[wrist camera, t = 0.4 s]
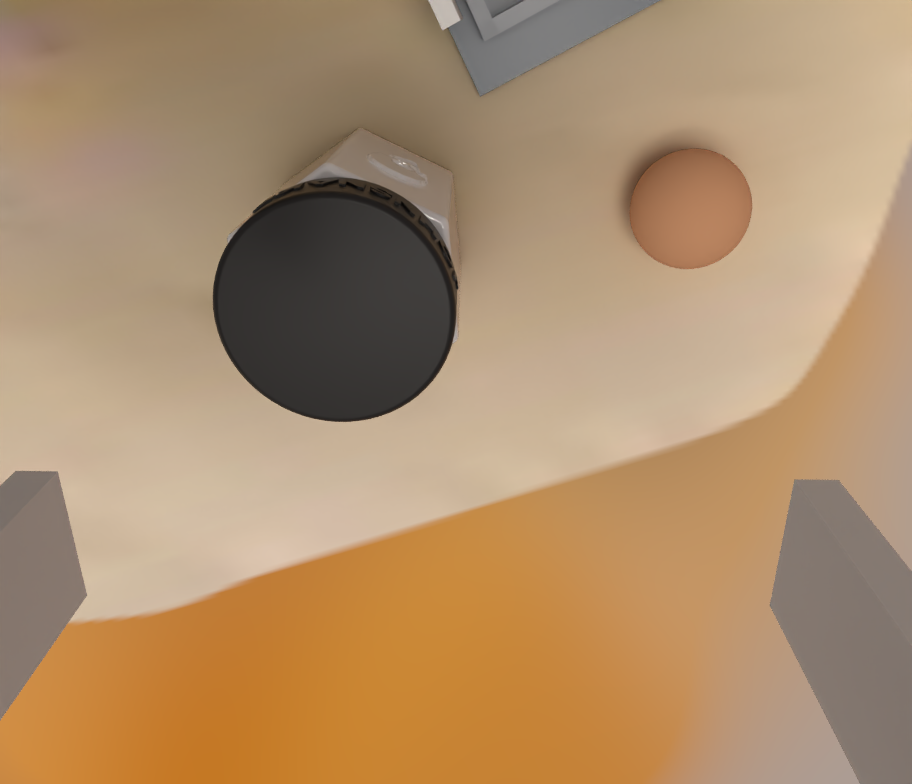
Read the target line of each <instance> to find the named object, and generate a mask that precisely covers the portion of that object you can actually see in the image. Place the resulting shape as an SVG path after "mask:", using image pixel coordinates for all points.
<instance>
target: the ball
mask: <svg viewBox="0 0 912 784" xmlns="http://www.w3.org/2000/svg"><path fill="white" fill-rule="evenodd" d="M751 212H752V198H751V192H750V188H749V186H748V183H747V181H746V179H745V177H744V175H743V174H742V172H741V171H740V170H739V168H738V167H737V166H736V165H735V164H734V163H732V162H731V161H730V160H729V159H727V158H726V157H724V156H723V155H720V154H718V153H716V152H713V151H709V150H705V149H685V150H680V151H676V152H673V153H671V154H668V155H666V156H664V157H662V158H661V159H659V160H658V161H656V162H655V163H654V164H652V165H651V166H650V167H649V168H648V169H647V170H646V171H645V173H644V174H643V175H642V176H641V178H640V180H639V181H638V183H637V185H636V187H635V189H634V192H633V195H632V199H631V204H630V221H631V227H632V230H633V233H634V235H635V237H636V239H637V241H638V243H639V244H640V246H641V247H642V248H643V250H644V251H645V252H646V253H647V254H648V255H650V256H651V257H652V258H653V259H655V260H657V261H658V262H660V263H662V264H665V265H667V266H670V267H674V268H680V269H694V268H700V267H704V266H708V265H710V264H713V263H715V262H717V261H719V260H721V259H722V258H724V257H725V256H726V255H728V254H729V253H730V252H731V251H732V250H733V249H734V248H735V247H736V246H737V245H738V244H739V242H740V241H741V239H742V238H743V236H744V234H745V233H746V230H747V228H748V225H749V222H750V218H751Z"/></svg>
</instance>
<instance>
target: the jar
mask: <svg viewBox="0 0 912 784" xmlns="http://www.w3.org/2000/svg"><path fill="white" fill-rule="evenodd" d="M227 242H228V244H227V246H226V248H225V250H224V252H223V254H222V256H221V259H220V261H219V264H218V267H217V271H216V275H215V280H214V287H213V310H214V317H215V322H216V326H217V330H218V333H219V336H220V339H221V342H222V344H223V346H224V348H225V350H226V352H227V354H228V356H229V358H230V359H231V361H232V362H233V364H234V365H235V367H236V368H237V370H238V371H239V372H240V373H241V374H242V376H243V377H244V378H245V379H246V380H247V381H248V382H249V383H250V384H251V385H252V386H253V387H254V388H255V389H256V390H258V391H259V392H260V393H261V394H262V395H264V396H265V397H267V398H268V399H270V400H271V401H273V402H274V403H276V404H278V405H280V406H281V407H283V408H285V409H288V410H290V411H292V412H295V413H297V414H300V415H303V416H306V417H310V418H314V419H319V420H325V421H335V422H351V421H361V420H366V419H371V418H375V417H379V416H382V415H385V414H387V413H390V412H392V411H394V410H396V409H398V408H400V407H402V406H404V405H405V404H407V403H409V402H410V401H411V400H413V399H414V398H415V397H417V396H418V395H419V394H420V393H421V392H422V391H423V390H425V389H426V388H427V386H428V385H429V384H430V383H431V382H432V381H433V380H434V378H435V377H436V375H437V374H438V373H439V371H440V370H441V368H442V366H443V364H444V362H445V361H446V359H447V356H448V354H449V351H450V349H451V346H452V344H453V343H455V342H456V341H457V339H458V336H459V307H460V278H461V262H460V249H459V237H458V225H457V213H456V201H455V189H454V177H453V174H452V172H451V171H449V170H447V169H445V168H443V167H441V166H439V165H437V164H435V163H433V162H430V161H428V160H426V159H424V158H422V157H420V156H418V155H416V154H414V153H412V152H410V151H408V150H406V149H404V148H402V147H400V146H398V145H395V144H393V143H391V142H389V141H387V140H385V139H383V138H381V137H379V136H377V135H375V134H373V133H371V132H369V131H367V130H365V129H362V128H359V129H356V130H355V131H354V132H352V133H351V134H350V135H348V136H347V137H346V138H344V139H343V140H342V141H340V142H339V143H338V144H336V145H335V146H334V147H332V148H331V149H330V150H328V151H327V152H326V153H324V154H323V155H322V156H320V157H319V158H318V159H316V160H315V161H314V162H312V163H311V164H310V165H308V166H307V167H306V168H304V169H303V170H302V171H300V172H299V173H298V174H296V175H295V176H294V177H292V178H291V179H290V180H288V181H287V182H286V183H284V184H283V185H282V186H281V187H280V188H279V189H278V190H277V191H276V192H274V193H273V194H272V195H271V196H270V197H269V198H268V199H267V200H266V201H264V202H263V203H262V204H261V205H259V206H258V207H257V208H256V209H255V210H254V211H253V213H252V214H250V215H249V216H248V217H247V218H246V219H245V220H244V221H243V222H242V223H241V224H240V225H239V226H237V227H236V228H235V229H234V230H233V231H232V232H231V233H230V234H229V235H228V238H227Z"/></svg>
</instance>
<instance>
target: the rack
mask: <svg viewBox="0 0 912 784" xmlns="http://www.w3.org/2000/svg"><path fill="white" fill-rule="evenodd" d="M428 1H429V3H430V5H431V7H432V9H433V11H434V14H435V16H436V18H437V20H438V22H439V24H440V26H441V28H442V30H444V29H446V28H449V31H450V33H451V35H452V37H453V39H454V41H455V43H456V46H457V48H458V50H459V52H460V54H461V56H462V58H463V61H464V63H465V65H466V67H467V69H468V71H469V73H470V76H471V78H472V80H473V82H474V84H475V86H476V88H477V91H478V93H479V95H480V96H482V95H484V94H486V93H488V92H490V91H491V90H493V89H495V88H497V87H499V86H501V85H503V84H504V83H506V82H508V81H510V80H512V79H514V78H516V77H518V76H519V75H521V74H523V73H525V72H527V71H529V70H531V69H533V68H534V67H536V66H538V65H540V64H542V63H544V62H546V61H548V60H549V59H551V58H553V57H555V56H557V55H559V54H561V53H562V52H564V51H566V50H568V49H570V48H572V47H574V46H576V45H577V44H579V43H581V42H583V41H585V40H587V39H589V38H591V37H592V36H594V35H596V34H598V33H600V32H602V31H604V30H606V29H607V28H609V27H611V26H613V25H615V24H617V23H619V22H620V21H622V20H624V19H626V18H628V17H630V16H632V15H634V14H635V13H637V12H639V11H641V10H643V9H645V8H647V7H649V6H650V5H652V4H654V3H656V2H658V1H660V0H428Z"/></svg>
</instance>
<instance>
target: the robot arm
mask: <svg viewBox="0 0 912 784" xmlns="http://www.w3.org/2000/svg"><path fill="white" fill-rule="evenodd" d="M86 596H87V593H86V589H85V585H84V581H83V577H82V572H81V568H80V564H79V560H78V555H77V551H76V547H75V543H74V538H73V534H72V530H71V526H70V522H69V517H68V513H67V509H66V505H65V500H64V496H63V492H62V488H61V483H60V479H59V475H58V472H51V471H15V472H14V473H13V474H12V475H11V476H10V477H9V478H8V479H7V480H6V481H5V482H4V483H3V484H2V485H1V486H0V720H1V718H2V717H3V715H4V714H5V713H6V711H7V710H8V708H9V707H10V705H11V704H12V703H13V701H14V699H15V698H16V697H17V695H18V694H19V692H20V691H21V690H22V688H23V687H24V685H25V684H26V682H27V681H28V680H29V678H30V677H31V675H32V674H33V672H34V671H35V670H36V668H37V667H38V665H39V664H40V662H41V661H42V659H43V658H44V657H45V655H46V654H47V652H48V651H49V649H50V648H51V646H52V645H53V644H54V642H55V641H56V639H57V638H58V636H59V634H61V632H62V631H63V629H64V628H65V626H66V625H67V623H68V622H69V621H70V619H71V618H72V616H73V615H74V613H75V612H76V610H77V609H78V608H79V606H80V605H81V603H82V602H83V600H84V599H85V598H86ZM770 607H771V609H772V611H773V613H774V615H775V616H776V619H777V621H778V623H779V625H780V627H781V629H782V630H783V632H784V634H785V636H786V638H787V640H788V642H789V644H790V646H791V648H792V650H793V652H794V654H795V656H796V658H797V660H798V662H799V664H800V666H801V668H802V670H803V672H804V674H805V676H806V678H807V680H808V682H809V684H810V686H811V688H812V690H813V692H814V693H815V696H816V698H817V700H818V702H819V703H820V705H821V707H822V709H823V711H824V713H825V715H826V717H827V719H828V721H829V723H830V725H831V727H832V729H833V731H834V733H835V735H836V737H837V739H838V741H839V743H840V745H841V747H842V749H843V751H844V753H845V755H846V757H847V759H848V761H849V763H850V765H851V767H852V768H853V771H854V773H855V774H856V776H857V779H858V780H859V783H860V784H912V571H911V570H910V569H909V567H908V566H907V565H906V564H905V562H904V561H903V560H902V559H901V558H900V556H899V555H898V554H897V552H896V551H895V550H894V549H893V547H892V546H891V545H890V544H889V542H888V541H887V540H886V539H885V537H884V536H883V535H882V534H881V532H880V531H879V530H878V529H877V528H876V526H875V525H874V524H873V522H872V521H871V520H870V519H869V518H868V516H867V515H866V514H865V512H864V511H863V510H862V509H861V507H860V506H859V505H858V504H857V502H856V501H855V500H854V499H853V497H852V496H851V495H850V494H849V493H848V491H847V490H846V489H845V488H844V486H843V485H842V484H841V482H840V481H839V480H794V485H793V490H792V495H791V500H790V505H789V510H788V515H787V520H786V525H785V531H784V536H783V541H782V546H781V551H780V556H779V562H778V566H777V571H776V577H775V582H774V587H773V592H772V597H771V602H770Z"/></svg>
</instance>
